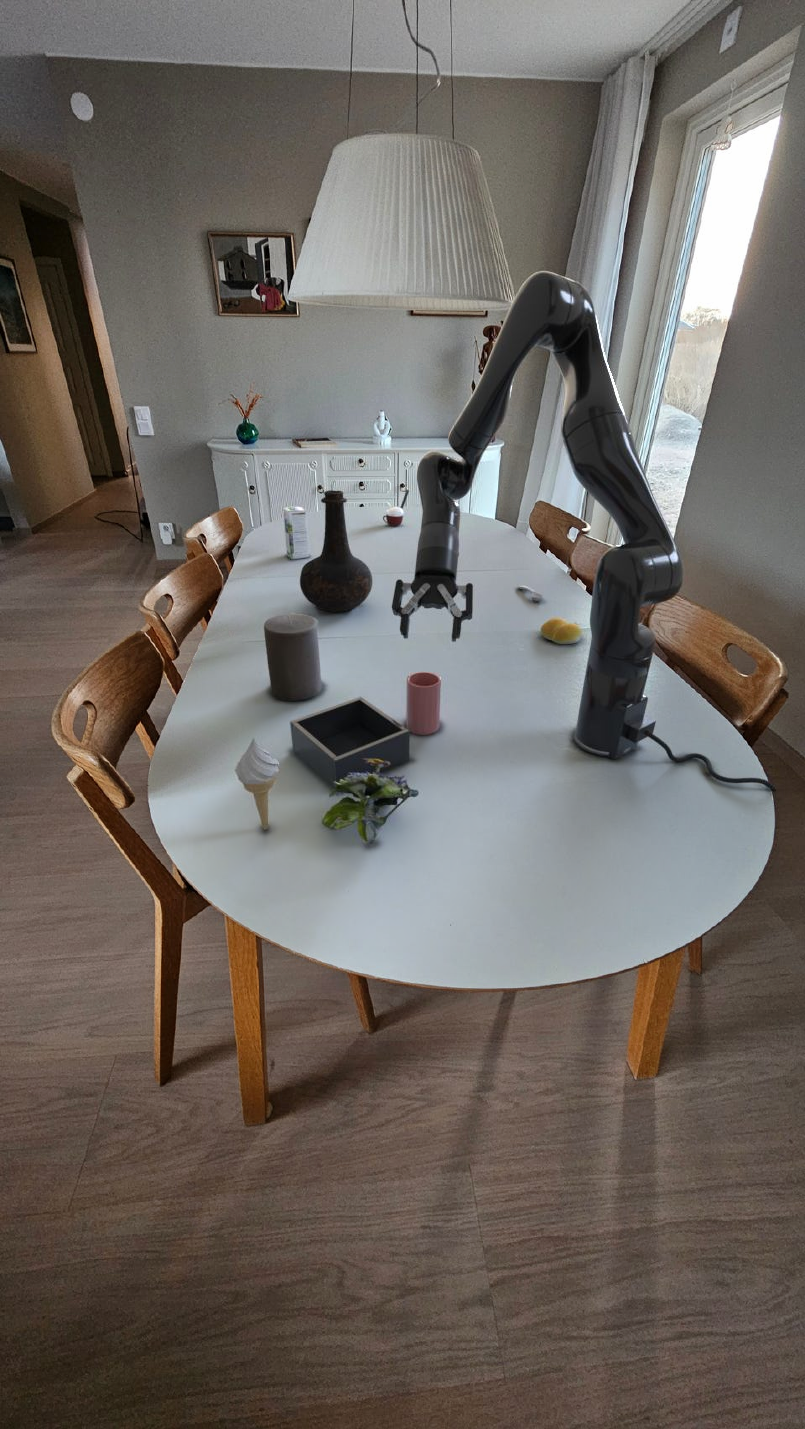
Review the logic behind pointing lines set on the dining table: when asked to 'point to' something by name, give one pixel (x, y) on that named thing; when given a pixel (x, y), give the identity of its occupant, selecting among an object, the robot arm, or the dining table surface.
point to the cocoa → (395, 513)
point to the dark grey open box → (349, 740)
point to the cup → (423, 702)
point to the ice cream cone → (258, 776)
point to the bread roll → (561, 631)
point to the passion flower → (366, 799)
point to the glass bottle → (335, 565)
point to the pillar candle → (293, 656)
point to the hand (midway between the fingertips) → (429, 638)
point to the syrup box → (296, 532)
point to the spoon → (534, 595)
